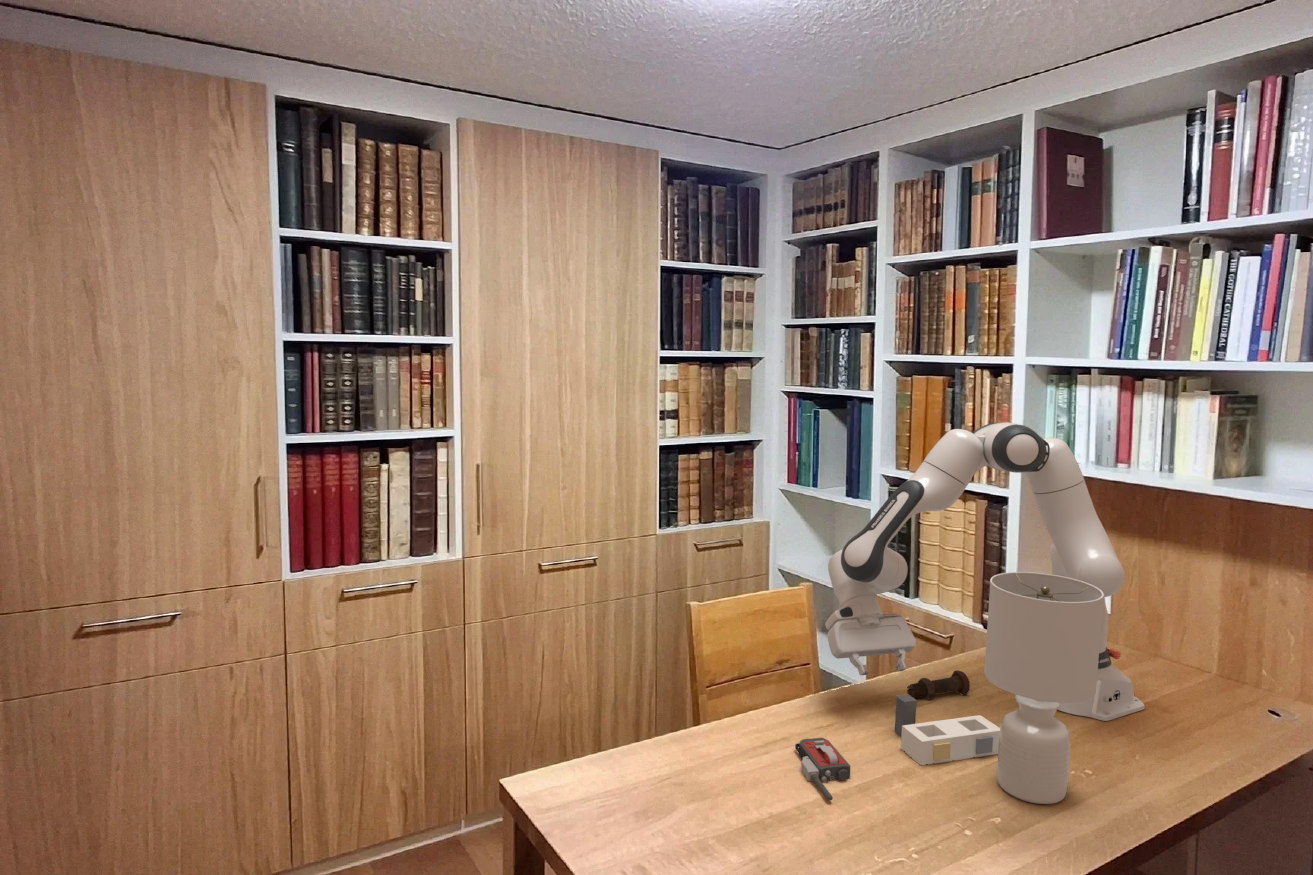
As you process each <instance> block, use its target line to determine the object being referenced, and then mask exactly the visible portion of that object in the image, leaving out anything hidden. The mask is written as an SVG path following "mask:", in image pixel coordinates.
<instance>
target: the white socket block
mask: <svg viewBox="0 0 1313 875" xmlns="http://www.w3.org/2000/svg"><path fill="white" fill-rule="evenodd" d="M999 735H1000V727H999V726H997V725H996V724H994V723H993V722H992V721H990V720H989V719H987V718H985V717H984V716H982V715H981V714H978V715H972V716H964V717H957V718H949V719H948V718H947V719H942V720H933V721H926V722H920V723H915V724H910V725H903V726H902V734H901V736H900V738H901V739H900V750H901V751H902V752H904V751H905V752H904V753H905V754H906V753H907V755H908V756H909V757H910V758H911V757H912V758H911V759H912V760H913V761H915V762H916V763H917V764H918V765H919V764H920V766H921V765H922V766H927V765H926V764H928V765H934V764H933V763H935V764H940V763H947V762H953V761H952V760H955V761H961V760H967V759H974V758H973V757H975V758H981V757H986V756H987V757H988V756H992V755H993V756H994V755H998V746H999Z"/></svg>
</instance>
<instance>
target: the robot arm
mask: <svg viewBox="0 0 1313 875" xmlns="http://www.w3.org/2000/svg"><path fill="white" fill-rule="evenodd" d="M985 467H988V468H992V469H994V470H997V471H1001V472H1010V473H1015V474H1016V473H1019V474H1021V473H1024V474H1025V476H1026V477H1027V478H1028V481H1029V485H1030V488H1031V490H1032V494H1033V497H1034V499H1035V502H1036V506H1037V508H1038V511H1039V514H1040V516H1041V520H1042V522H1043V525H1044V527H1045V529H1046V531H1047V533H1048V535H1049V537H1050V538H1051V540H1052V544H1051V546H1050V549H1049V554H1050V560H1051V571H1052V572H1051V575H1058V576H1063V577H1068V578H1072V579H1076V580H1080V581H1083V582H1086V583H1088V584H1091V585H1093V586H1095V587H1097V588H1099V589H1100V590H1101V591H1102V592H1103V594H1104V597H1103V610H1102V622H1101V635H1100V647H1099V660H1098V672H1097V685H1096V694H1095V695H1094V696H1093V697H1092V698H1090V699H1089V700H1085V701H1081V702H1074V703H1059V704H1060V706H1059V708H1058V709H1057V711H1061V712H1064V713H1066V714H1070V715H1074V716H1075V715H1076V716H1080V717H1082V716H1083V717H1087V718H1092V719H1095V720H1099V721H1104V722H1107V721H1111V720H1115V719H1117V718H1121V717H1124V716H1127V715H1130V714H1133V713H1137V712H1139V711H1142V710H1145V704H1144V702H1142V700H1141V699H1139V698H1138V697H1137V696H1135V695H1134V685H1133V683H1132V680H1131V679H1130V678H1129V677H1128V676H1127V675H1126V674H1125V673H1123V672H1122V671H1121V670H1120V669H1119V668H1117V667H1116V666H1115V665H1114V664H1113V662H1112V659H1111V658H1113V659H1115V660H1119V659H1120V658H1121V657H1122V653H1121V651H1120V650H1117V649H1114V648H1110V649H1109V648H1108V647H1107V642H1108V641H1107V640H1108V629H1109V613H1108V609H1107V605H1106V598H1107V597H1111V596H1114V595H1115V594H1117V593H1118V592H1119V591H1120V590H1121V588H1122V587H1123V585H1124V583H1125V579H1126V577H1125V576H1126V575H1125V574H1126V573H1125V570H1124V568H1123V565H1122V564H1121V562H1120V560H1119V558H1118V556H1117V553H1116V552H1115V549H1114V547H1113V545H1112V542H1111V541H1110V538H1109V536H1108V533H1107V532H1106V530H1105V528H1104V526H1103V524H1102V521H1101V520H1100V518H1099V516H1098V514H1097V511H1096V509H1095V507H1094V504H1093V500H1092V497H1091V495H1090V493H1089V489H1088V487H1087V484H1086V480H1085V477H1084V474H1083V473H1082V470H1081V467H1080V465H1079V463H1078V462H1077V459H1076V457H1075V455H1074V453H1073V452H1072V450H1071V448H1070V447H1069V445H1068V444H1067V442H1066V441H1064V440H1063V439H1060V438H1056V437H1042V436H1040V435H1039V434H1038V433H1037V432H1036V431H1035V430H1033V429H1032V428H1031V427H1029V426H1026V425H1023V424H1017V423H1013V422H1008V421H1007V422H991V423H987V424H985V425H983V426H981V427H979V428H977V429H975V430H973V431H969V430H966V429H962V428H954V429H950V430H949V431H947V432H946V433H945V434H944V435H943V436H942V437H941V438H940V439H939V440H938V441H937V442H936V444H935V445H934V446H933V447H932V449H931V450H930V451H929V452H928V454H927V455H926V456H925V458H924V460H922V462H921V464H920V465H919V466H918V467H917V469H916V471H915V472H914V473H913V474H912V475H911V477H909V479H908V480H906V481H905V482H903V483H901V484H900V485H899V486H898V487H897V488H896V489H895V490H894V491H893V492H892V493H891V494H890V496H889V497H888V498H887V499H886V500H885V502H884V503H883V505H882V506H881V507H880V508H879V509H878V511H877V512H876V513H875V515H874V516H873V517H871V519H870V521H869V522H868V523H867V524H866V525H865V527H864V528H862V529H861V530H860V531H859V532H858V533H856V534H855V535H853V537H852V538H850V539H849V540H848V541H847V542H846V543H845V545H844V546H843V548H842V549H839V550H838V551H836V552H835V553H834V554H833V555H831V557H830V558H829V560H828V564H827V570H828V575H829V579H830V583H831V587H832V589H833V592H834V595H835V596H836V597H837V599H838V601H839V609H838V608H837V609H836V610H835V611H834V612H833V613H831V615H830V616H829V617H828V618H827V620H826V621H825V623H824V624H825V628H826V630H827V631H828V632H827V636H826V637H827V642H828V646H829V649H830V653H831V655H832V656H833V657H834V658H836V659H838V660H839V659H847V658H848V659H849V662H850V663H851V664H852V665H853V666H854V668H856V669H857V671H858V674H859V675H860V676H865V675H866V676H867V675H868V674H869V669H868V665H867V664H863V663H862V661H861V660H860V659H859V658H860V657H870V656H880V655H881V656H882V655H891V654H894V656H895V657H896V658H897V662H896V663H895V664H894V667H895V670H896V671H897V672H904V671H906V670H907V666H906V664H905V659H906V653H909V652H911V651H913V649H915V647H916V644H917V640H916V638H915V636H914V634H913V632H912V630H911V628H910V626H909V625H908V622H907V621H906V618H905V617H904V616H903V615H901V614H898V613H897V612H892V613H883V610H882V608H881V606H880V603H879V601H878V597H877V595H880V594H881V595H882V594H885V593H888V592H890V591H894V590H896V589H899V588H900V587H901V586H902V585H903V584H904V583H905V581H906V580H907V577H908V574H909V566H908V563H907V560H906V558H905V557H904V556H903V555H902V554H900V553H899V552H897V551H896V550H893V548H890V547H888V545H889V544H890V543H891V541H893V539H894V538H895V537H896V535H897V534H898V532H899V531H900V530H901V529H902V528H903V526H904V525H905V524H906V522H908V520H909V519H910V518H912V517H913V516H915V515H918V514H920V513H924V512H938V511H939V512H940V511H943V510H947V509H949V508H951V507H952V506H953V505H954V504H955V503H956V502H957V501H958V499H959V498H960V497H961V496H962V495H963V493H964V492H965V490H966V488H967V487H968V485H969V483H970V482H971V480H972V479H973V477H974V475H976V473H977V472H978V471H980V470H982V469H983V468H985Z"/></svg>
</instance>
